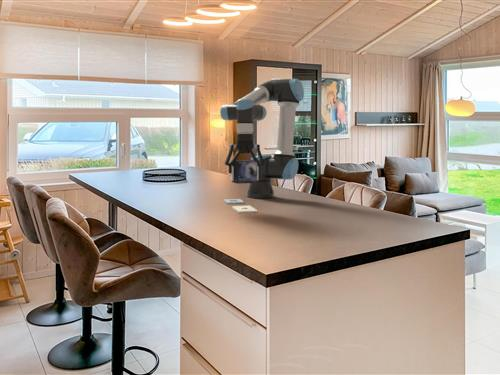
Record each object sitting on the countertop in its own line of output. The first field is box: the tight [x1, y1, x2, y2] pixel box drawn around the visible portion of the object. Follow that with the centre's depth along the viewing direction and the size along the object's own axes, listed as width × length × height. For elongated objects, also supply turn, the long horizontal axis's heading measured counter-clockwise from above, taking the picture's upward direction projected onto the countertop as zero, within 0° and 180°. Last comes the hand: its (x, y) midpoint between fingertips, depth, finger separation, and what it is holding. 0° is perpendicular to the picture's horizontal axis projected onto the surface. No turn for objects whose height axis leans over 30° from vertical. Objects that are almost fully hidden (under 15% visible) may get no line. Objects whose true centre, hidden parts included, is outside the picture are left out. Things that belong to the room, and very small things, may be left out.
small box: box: [231, 159, 258, 185], centre depth 222 cm, size 11×6×10 cm, turn 117°
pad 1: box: [222, 198, 245, 205], centre depth 246 cm, size 9×10×1 cm
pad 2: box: [231, 205, 258, 214], centre depth 224 cm, size 9×14×1 cm, turn 15°
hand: (244, 180), depth 222 cm, fingers closed on small box, 11 cm apart
